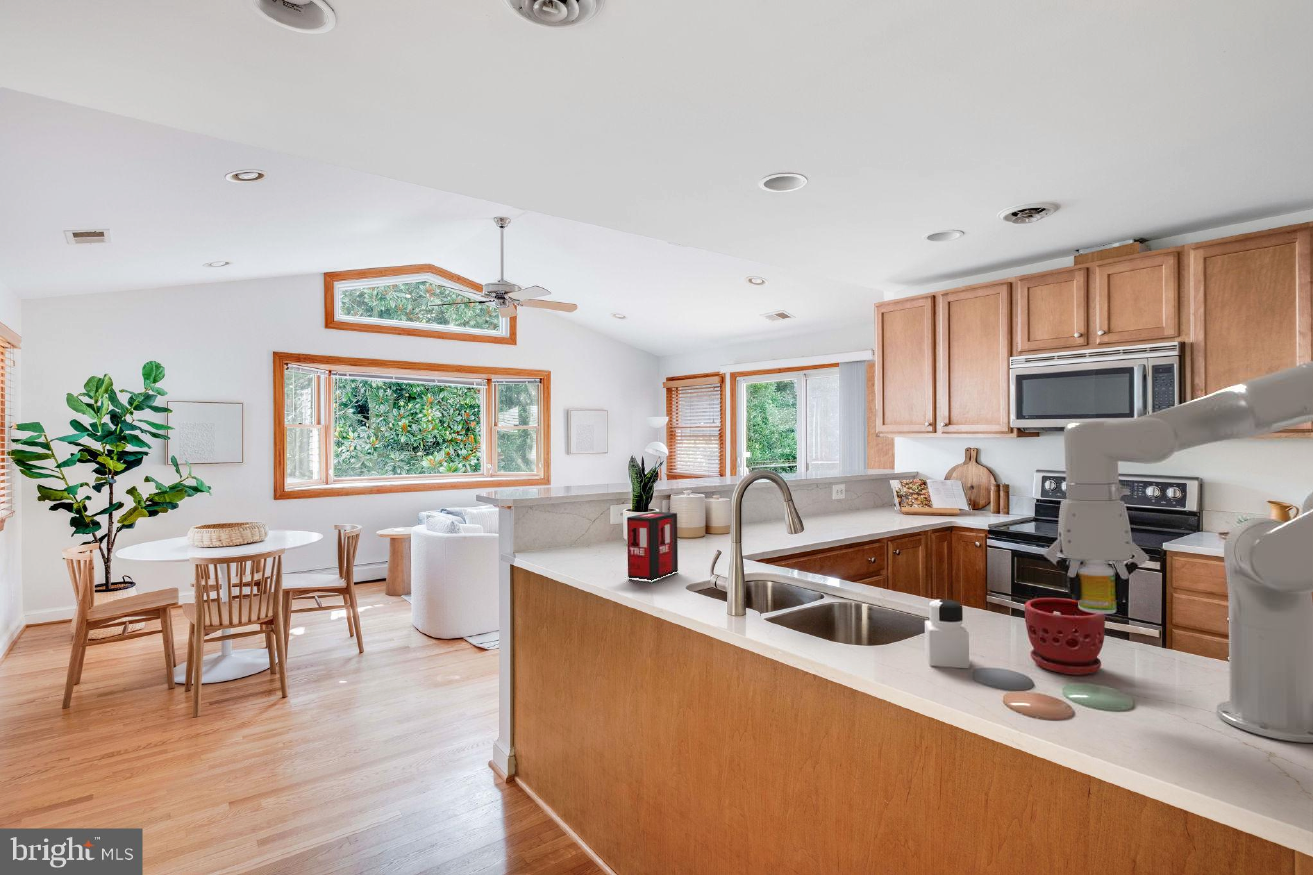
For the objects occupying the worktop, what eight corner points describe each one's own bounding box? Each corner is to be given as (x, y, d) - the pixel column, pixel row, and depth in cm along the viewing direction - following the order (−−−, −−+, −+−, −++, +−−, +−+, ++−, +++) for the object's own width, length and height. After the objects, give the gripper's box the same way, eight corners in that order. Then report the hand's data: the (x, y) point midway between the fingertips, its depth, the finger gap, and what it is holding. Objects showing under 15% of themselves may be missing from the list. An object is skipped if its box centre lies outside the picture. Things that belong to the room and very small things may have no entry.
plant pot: (1018, 653, 134) (1017, 595, 134) (1092, 659, 130) (1091, 599, 130) (1034, 676, 121) (1033, 611, 121) (1116, 683, 117) (1115, 616, 117)
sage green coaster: (1108, 687, 116) (1108, 682, 116) (1148, 712, 106) (1148, 707, 106) (1050, 687, 116) (1050, 683, 116) (1084, 713, 106) (1084, 708, 106)
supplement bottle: (1118, 615, 107) (1116, 556, 107) (1079, 612, 110) (1077, 555, 110) (1114, 608, 112) (1111, 551, 112) (1077, 605, 114) (1074, 549, 114)
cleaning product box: (655, 570, 221) (654, 511, 221) (677, 573, 217) (677, 513, 217) (627, 579, 207) (627, 517, 207) (651, 582, 203) (650, 518, 203)
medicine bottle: (962, 657, 132) (961, 598, 132) (969, 669, 125) (968, 607, 125) (924, 654, 134) (924, 596, 134) (929, 666, 127) (928, 605, 127)
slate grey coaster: (1026, 675, 123) (1026, 670, 123) (1038, 695, 113) (1038, 690, 113) (968, 669, 126) (968, 665, 126) (975, 688, 117) (975, 683, 117)
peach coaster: (1059, 699, 112) (1059, 694, 112) (1083, 723, 102) (1083, 718, 102) (995, 693, 114) (995, 688, 114) (1013, 717, 104) (1013, 712, 104)
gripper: (1145, 491, 111) (1150, 597, 111) (1031, 492, 117) (1035, 592, 117) (1161, 495, 104) (1166, 608, 104) (1038, 495, 110) (1043, 602, 110)
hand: (1096, 598), depth 111 cm, fingers closed on supplement bottle, 5 cm apart
